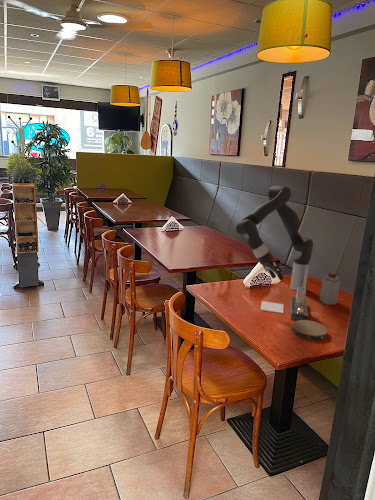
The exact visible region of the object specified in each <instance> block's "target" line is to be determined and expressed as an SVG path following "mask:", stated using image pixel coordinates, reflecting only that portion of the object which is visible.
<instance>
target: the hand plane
mask: <svg viewBox="0 0 375 500" xmlns="http://www.w3.org/2000/svg"><path fill="white" fill-rule="evenodd" d="M296 296H297V293H296V295H295V296H290V297H291V298H290V320H292V321H298V320H308V318H309V311H308V304H307V302H308V301H307V298H305V301H304V307H303V308H300V307H296V305H295V303H296Z"/></svg>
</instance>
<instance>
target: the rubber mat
mask: <svg viewBox="0 0 375 500" xmlns="http://www.w3.org/2000/svg"><path fill="white" fill-rule="evenodd" d="M284 306H285V305H284V303H277V302H271V301H263V300H262V301H261V305H260V311H262V312H271V313H277V314H284V308H285V307H284Z"/></svg>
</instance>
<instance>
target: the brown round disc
mask: <svg viewBox="0 0 375 500" xmlns="http://www.w3.org/2000/svg"><path fill="white" fill-rule="evenodd" d="M291 332H292V333H293V334H294V335H295V336H297V337H298V338H301V339H303V340H307V341H314V342H316V341H319V342H320V341H323V340H325V339H326V338H327V336H328V335H327V334H328V328H327V327H325V326H324V325H323V324H321V323H320V322H316V321H312V320H298V321H297V320H294V321H293V322H292V327H291Z"/></svg>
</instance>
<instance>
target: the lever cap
mask: <svg viewBox="0 0 375 500" xmlns="http://www.w3.org/2000/svg"><path fill="white" fill-rule="evenodd" d="M306 288H307V287H306V286H305V287H300V286H298V289H297V291H296V294H297V296H296V295H295V297H296V303H295V305H296V307H300V308H303V307H304V301H305V299H306V293H307V289H306Z"/></svg>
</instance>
